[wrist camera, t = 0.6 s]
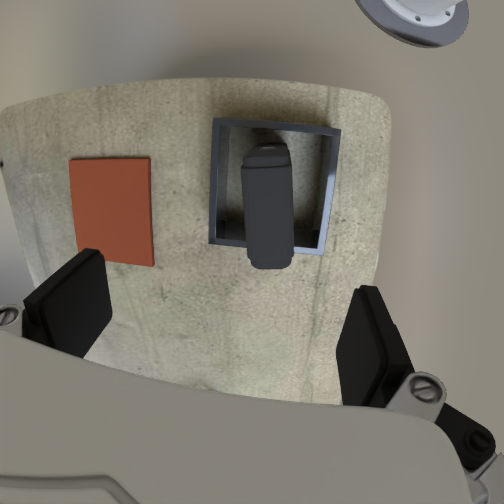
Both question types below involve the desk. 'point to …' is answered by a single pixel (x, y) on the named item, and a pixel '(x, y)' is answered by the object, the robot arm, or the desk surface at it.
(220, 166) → the grey open bin
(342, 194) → the desk surface
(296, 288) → the desk surface
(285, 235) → the card reader
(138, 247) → the mat
